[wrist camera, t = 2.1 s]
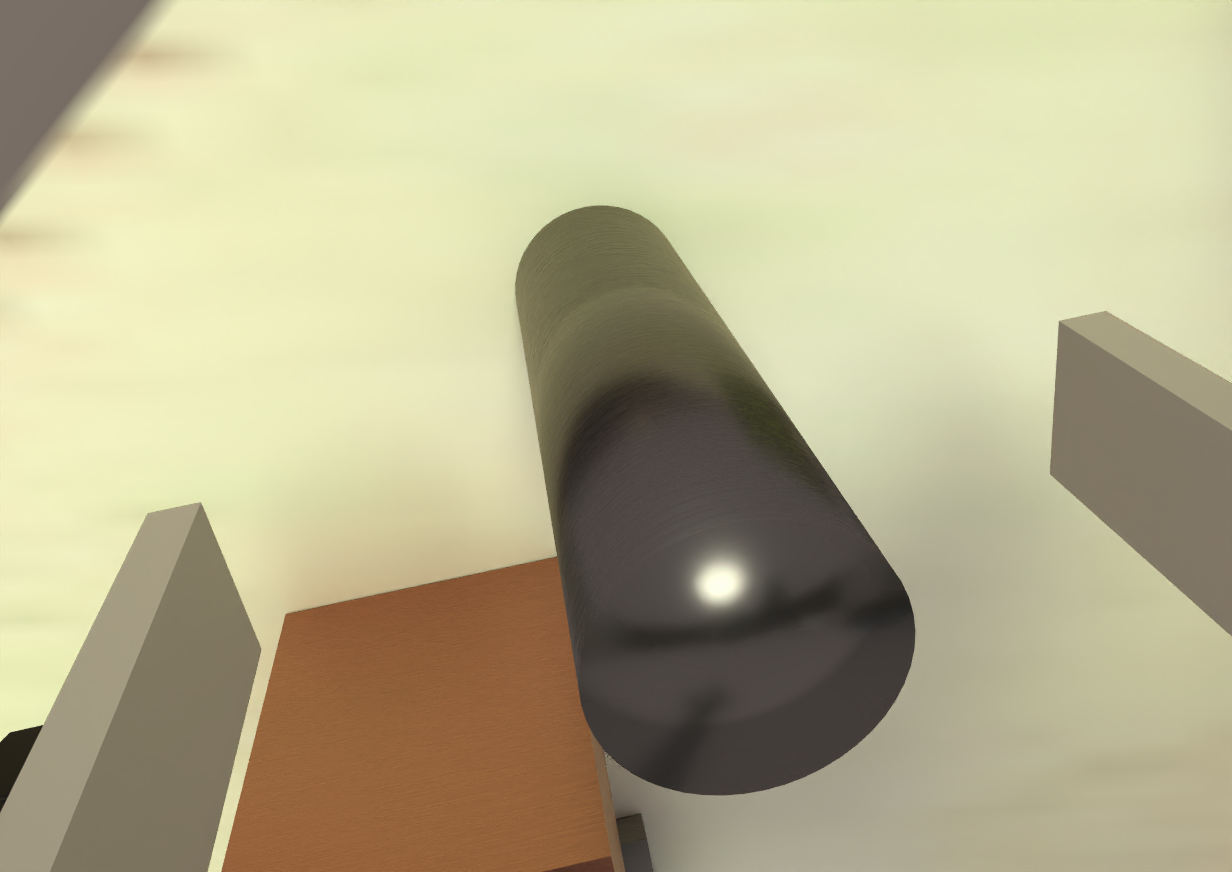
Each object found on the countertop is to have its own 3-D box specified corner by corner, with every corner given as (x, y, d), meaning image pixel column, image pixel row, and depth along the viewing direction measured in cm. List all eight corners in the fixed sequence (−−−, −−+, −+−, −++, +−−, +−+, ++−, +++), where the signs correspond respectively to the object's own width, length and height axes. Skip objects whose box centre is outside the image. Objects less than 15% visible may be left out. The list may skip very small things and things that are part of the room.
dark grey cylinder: (670, 190, 23) (912, 486, 11) (690, 348, 25) (917, 756, 13) (499, 223, 23) (549, 563, 11) (532, 380, 25) (607, 826, 12)
